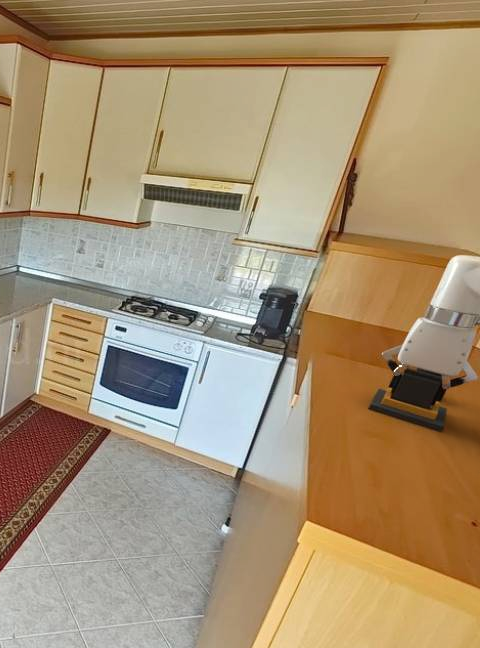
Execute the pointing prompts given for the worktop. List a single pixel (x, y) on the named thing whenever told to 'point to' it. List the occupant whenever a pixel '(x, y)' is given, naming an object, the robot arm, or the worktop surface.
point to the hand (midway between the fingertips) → (412, 396)
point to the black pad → (417, 387)
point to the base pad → (409, 410)
